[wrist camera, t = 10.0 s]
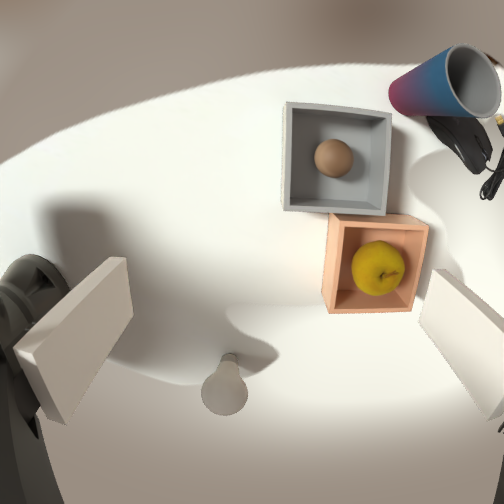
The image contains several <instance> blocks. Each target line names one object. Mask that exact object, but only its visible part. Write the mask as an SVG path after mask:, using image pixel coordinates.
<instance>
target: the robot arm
mask: <svg viewBox="0 0 504 504" xmlns="http://www.w3.org/2000/svg"><path fill="white" fill-rule="evenodd" d="M133 316H134V312H133V306H132V299H131V293H130V285H129V278H128V270H127V262H126V257H109V258H108V259H107V260H105V261H104V262H103V263H102V264H101V265H100V266H98V267H97V268H96V269H95V270H94V271H93V272H92V273H90V274H89V275H88V276H87V277H86V278H85V279H84V280H82V281H81V282H80V283H79V284H78V285H77V286H76V287H75V288H74V289H72V290H71V291H70V290H69V288H68V286H67V284H66V282H65V280H64V279H63V277H62V276H61V274H60V273H59V272H58V271H57V270H56V268H55V267H54V266H53V265H51V264H50V263H49V262H48V261H46V260H45V259H43V258H41V257H39V256H37V255H32V254H28V255H24V256H22V257H20V258H19V259H17V260H15V261H14V262H13V263H12V264H11V265H10V266H9V267H8V269H7V270H6V272H5V273H4V275H3V276H2V278H1V279H0V504H64V501H63V499H62V496H61V493H60V491H59V488H58V485H57V482H56V479H55V477H54V473H53V470H52V467H51V464H50V460H49V457H48V453H47V450H46V446H45V443H44V438H43V435H42V430H41V426H40V422H39V419H38V417H37V415H36V412H37V410H38V408H39V407H40V406H41V408H42V410H43V412H44V413H45V415H46V417H47V418H48V419H50V420H52V421H55V422H58V423H61V424H64V425H67V424H68V422H69V421H70V419H71V417H72V415H73V414H74V412H75V410H76V408H77V407H78V405H79V403H80V401H81V399H82V398H83V396H84V394H85V393H86V391H87V389H88V388H89V386H90V384H91V382H92V381H93V379H94V378H95V376H96V374H97V373H98V371H99V369H100V368H101V366H102V365H103V363H104V361H105V360H106V358H107V356H108V355H109V353H110V352H111V350H112V348H113V347H114V345H115V344H116V342H117V341H118V339H119V337H120V336H121V334H122V333H123V331H124V330H125V328H126V327H127V325H128V324H129V322H130V321H131V319H132V317H133ZM418 323H419V325H420V326H421V327H422V328H423V330H424V331H425V332H426V334H427V335H428V336H429V338H430V339H431V340H432V342H433V343H434V344H435V346H436V347H437V348H438V350H439V351H440V353H441V354H442V355H443V357H444V358H445V359H446V361H447V362H448V364H449V365H450V367H451V368H452V369H453V371H454V372H455V374H456V375H457V376H458V378H459V379H460V381H461V382H462V384H463V385H464V387H465V388H466V390H467V391H468V393H469V394H470V396H471V397H472V399H473V400H474V402H475V403H476V405H477V406H478V408H479V410H480V411H481V413H482V414H483V416H484V418H485V419H486V421H489V420H492V419H495V418H497V417H500V416H501V415H502V413H503V412H504V319H503V318H502V317H501V316H500V315H499V314H498V313H497V312H496V311H495V310H493V309H492V308H491V307H490V306H489V305H488V304H487V303H486V302H484V301H483V300H482V299H481V298H480V297H479V296H478V295H476V294H475V293H474V292H473V291H472V290H470V289H469V288H468V287H467V286H466V285H464V284H463V283H462V282H461V281H460V280H458V279H457V278H456V277H455V276H453V275H452V274H451V273H450V272H448V271H447V270H446V269H433V270H432V274H431V278H430V282H429V286H428V290H427V293H426V297H425V300H424V304H423V307H422V311H421V314H420V317H419V320H418ZM503 428H504V422H503V423H502V425H501V426H500V427H499V429H498V432H501V430H502V429H503ZM503 434H504V433H503ZM493 504H504V456H503V462H502V467H501V472H500V478H499V482H498V486H497V491H496V495H495V499H494V503H493Z"/></svg>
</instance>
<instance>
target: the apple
mask: <svg viewBox="0 0 504 504" xmlns="http://www.w3.org/2000/svg"><path fill="white" fill-rule="evenodd" d="M351 269H352V275H353V279H354V282H355V284H356V286H357V287H358V288H359V289H360V290H362V291H363V292H364V293H366V294H369V295H372V296H380V295H384V294H387V293H389V292H391V291H393V290H394V289H395V288H396V287H397V286H398V285H399V283H400V281H401V279H402V277H403V275H404V272H405V264H404V261H403V258H402V257H401V255H400V253H399V251H398V250H397V249H396V248H395V247H393V246H392V245H390V244H389V243H387V242H385V241H382V240H377V241H373V242H369V243H366V244H364V245H363V246H361V247H360V248H359V249H358V250H357V252H356V253H355V254H354V256H353V259H352V264H351Z"/></svg>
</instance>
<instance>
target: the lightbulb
mask: <svg viewBox="0 0 504 504" xmlns="http://www.w3.org/2000/svg"><path fill="white" fill-rule="evenodd" d="M201 396H202V400H203V403H204V404H205V406H206V407H207V408H208V409H209V410H210V411H211V412H213V413H215V414H218V415H223V416H227V415H232V414H234V413H237V412H238V411H240V410H241V409H242V408H243V407H244V405H245V403H246V401H247V397H248V391H247V387H246V384H245V383H244V381H243V380H242V378H241V377H240V375H239V367H238V358H237V357H236V356H235V355H233V354H225V355H223V356H222V359H221V362H220V364H219V365H218V367H217V370H216V372H215V373H213V374H212V375H211V376H209V377H208V378H207V379H206V380H205V382H204V383H203V386H202V389H201Z"/></svg>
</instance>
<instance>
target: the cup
mask: <svg viewBox="0 0 504 504" xmlns="http://www.w3.org/2000/svg"><path fill="white" fill-rule="evenodd" d="M389 99H390V102H391V104H392V106H393V107H394V108H395V109H396V110H397V111H398V112H399V113H401V114H403V115H407V116H456V117H473V118H488V117H490V116H492V115H494V114H495V112H496V111H497V110H498V108H499V106H500V102H501V85H500V80H499V77H498V74H497V72H496V70H495V68H494V66H493V64H492V63H491V61H490V60H489V59H488V58H487V56H486V55H485V54H484V53H483V52H481V51H480V50H479V49H477V48H476V47H474V46H472V45H469V44H464V43H461V44H456V45H454V46H452V47H450V48H449V49H447V50H445V51H443V52H442V53H440V54H438V55H436V56H435V57H433V58H432V59H429V60H428V61H426V62H424V63H423V64H421V65H419V66H418V67H416V68H414V69H413V70H411V71H409V72H408V73H406V74H404V75H403V76H401V77H399V78H398V79H396V80H395V81H393V82H392V84H391V85H390V87H389Z"/></svg>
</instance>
